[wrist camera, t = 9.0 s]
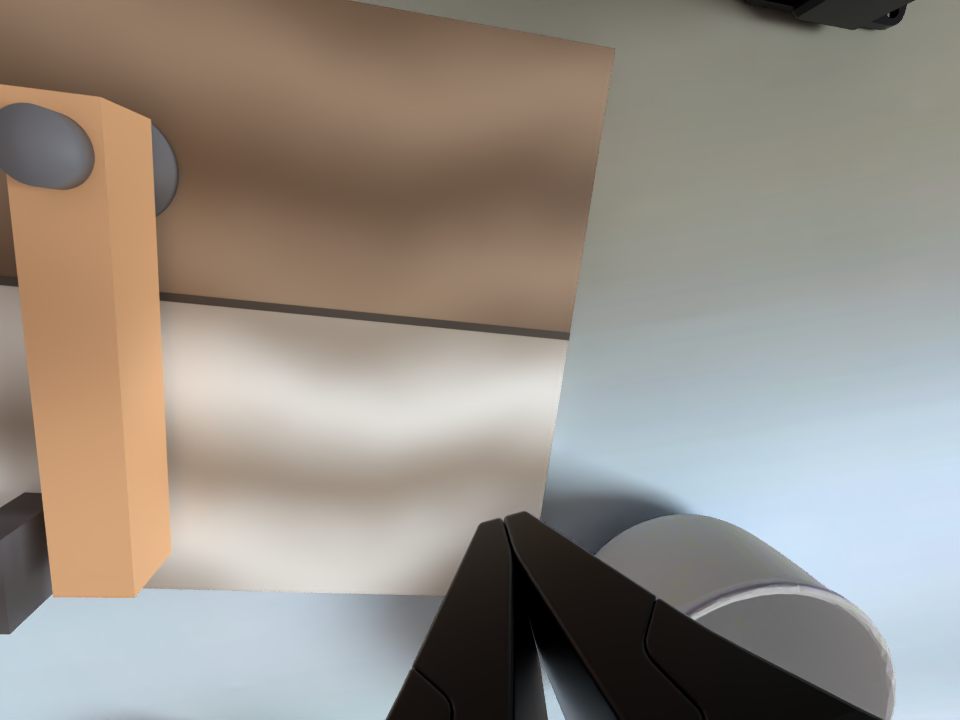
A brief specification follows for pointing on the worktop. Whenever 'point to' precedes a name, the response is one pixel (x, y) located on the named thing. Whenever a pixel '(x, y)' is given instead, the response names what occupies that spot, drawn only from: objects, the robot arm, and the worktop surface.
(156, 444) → the bar
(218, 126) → the door and jamb
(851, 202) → the worktop surface
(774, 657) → the teacup
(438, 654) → the robot arm
